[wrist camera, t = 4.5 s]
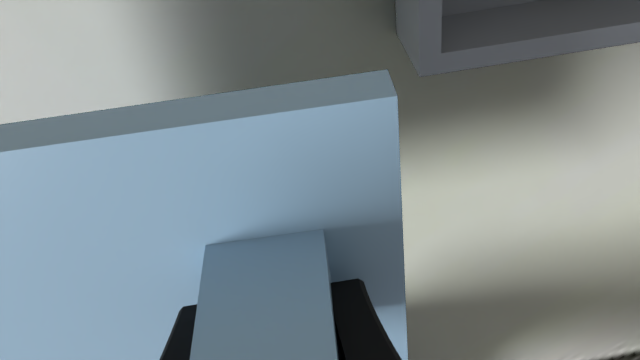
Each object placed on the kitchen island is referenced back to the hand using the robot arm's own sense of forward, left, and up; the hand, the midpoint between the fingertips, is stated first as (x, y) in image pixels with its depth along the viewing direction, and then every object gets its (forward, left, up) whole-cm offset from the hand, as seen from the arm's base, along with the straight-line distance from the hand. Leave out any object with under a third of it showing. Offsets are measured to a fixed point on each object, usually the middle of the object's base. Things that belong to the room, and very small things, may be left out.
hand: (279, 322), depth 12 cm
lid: (0, +3, -2) cm, 4 cm away
